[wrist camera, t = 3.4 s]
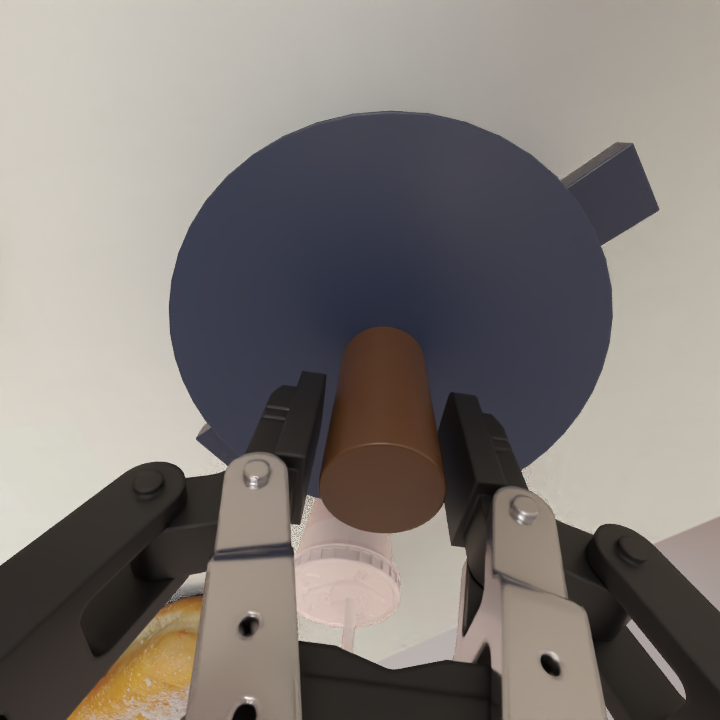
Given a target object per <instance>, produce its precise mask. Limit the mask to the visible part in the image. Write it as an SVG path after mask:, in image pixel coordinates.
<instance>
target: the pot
mask: <svg viewBox="0 0 720 720" xmlns="http://www.w3.org/2000/svg"><path fill="white" fill-rule="evenodd" d="M561 182H562V183H563V185H564V186H565V187H566V188H567V189H568V190H569V192H570V193H571V194H572V195H573V196H574V198H575V199H576V200H577V201H578V202H579V204H580V206H581V207H582V209H583V211H584V213H585V214H586V216H587V218H588V219H589V221H590V223H591V224H592V226H593V228H594V230H595V232H596V235H597V237H598V240H599V242H600V245H603V244H605V243H606V242H608V241H609V240H611V239H613V238H614V237H616V236H618V235H619V234H621V233H623V232H624V231H626V230H628V229H629V228H631V227H633V226H634V225H636V224H637V223H639V222H641V221H642V220H644V219H646V218H647V217H649V216H651V215H652V214H654V213H656V212H657V211H659V207H658V205H657V202H656V200H655V197H654V195H653V192H652V190H651V187H650V184H649V182H648V179H647V177H646V174H645V172H644V169H643V167H642V164H641V162H640V159H639V157H638V154H637V152H636V149H635V147H634V144H633V143H621V142H617V143H615V144H613V145H612V146H610V147H609V148H607V149H606V150H604V151H603V152H602V153H600V154H599V155H597V156H596V157H594V158H593V159H591V160H590V161H588V162H587V163H586V164H584V165H583V166H581V167H580V168H578V169H577V170H575V171H574V172H572V173H571V174H570V175H568V176H567V177H565V178H564V179H562V180H561ZM196 440H197V441H198V442H200V443H201V444H202V445H203V446H204V447H206V448H207V449H208V450H209V451H210V452H212V453H213V454H214V455H215V456H216V457H218V458H219V459H220V460H221V461H222V462H224V463H225V464H226V465H227V466H229V464H230V463H231V462H232V461H233V460H235V459H236V458H238V457H240V456H239V455H237V454H236V453H235V452H234V451H233V450H232V449H231V448H230V447H229V446H228V445H227V444H226V443H225V442H224V441H222V440H221V439H220V437H219V436H218V435H217V434H216V433H215V431H214V430H213V429H212V428H211V427H210V425H209V424H208V423H207V424H206V425H204V426H203V428H202V429H201V431H200V432H199V434H198V436H197V437H196Z"/></svg>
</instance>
